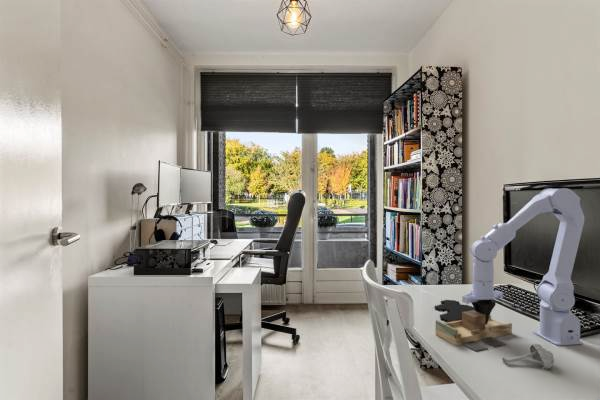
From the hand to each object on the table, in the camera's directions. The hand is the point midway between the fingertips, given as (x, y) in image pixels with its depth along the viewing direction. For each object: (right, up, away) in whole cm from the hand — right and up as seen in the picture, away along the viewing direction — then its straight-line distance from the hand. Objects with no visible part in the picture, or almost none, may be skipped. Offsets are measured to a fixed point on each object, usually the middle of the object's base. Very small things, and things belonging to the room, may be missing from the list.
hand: (482, 323), depth 108 cm
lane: (-3, -3, -4) cm, 5 cm away
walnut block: (-4, -1, -1) cm, 4 cm away
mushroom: (+1, -4, -20) cm, 20 cm away
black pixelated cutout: (0, -3, +14) cm, 15 cm away
